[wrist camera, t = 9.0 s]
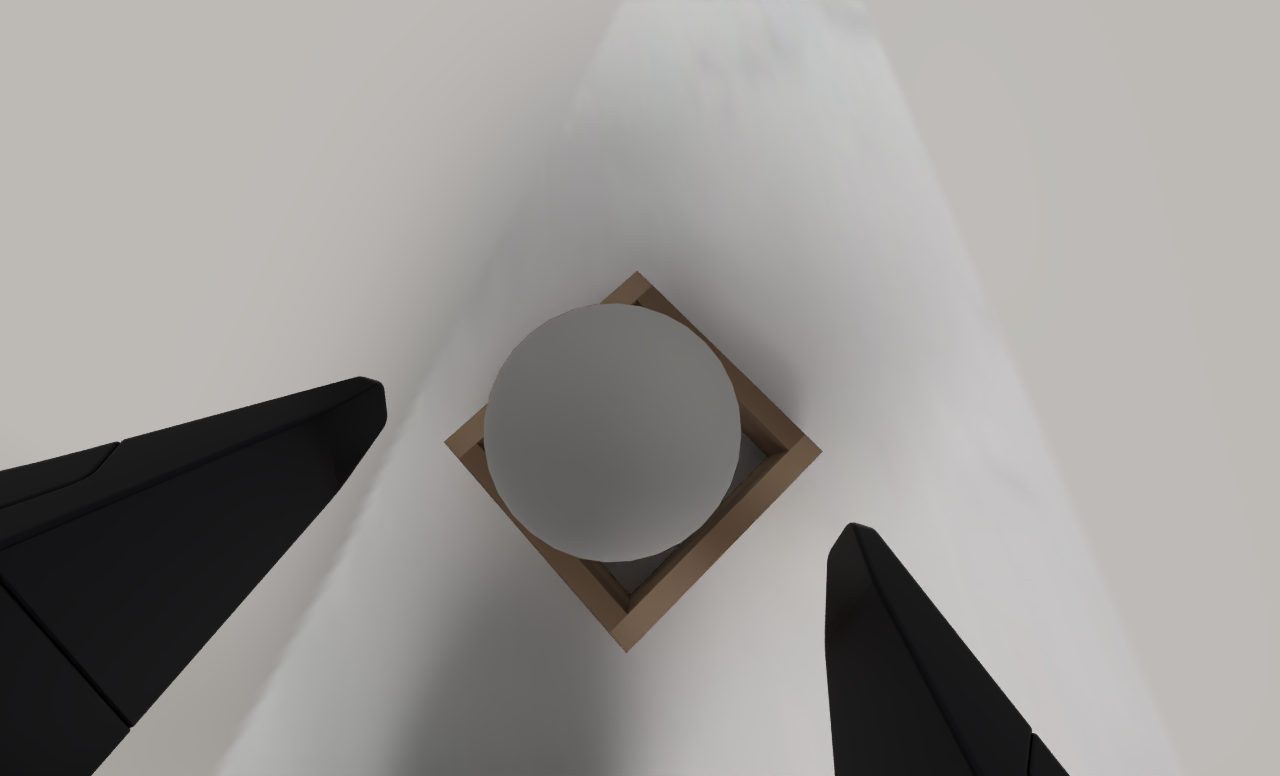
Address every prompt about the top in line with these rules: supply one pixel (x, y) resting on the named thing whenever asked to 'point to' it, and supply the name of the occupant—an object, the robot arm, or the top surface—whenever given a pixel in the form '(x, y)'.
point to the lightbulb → (612, 432)
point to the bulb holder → (704, 546)
